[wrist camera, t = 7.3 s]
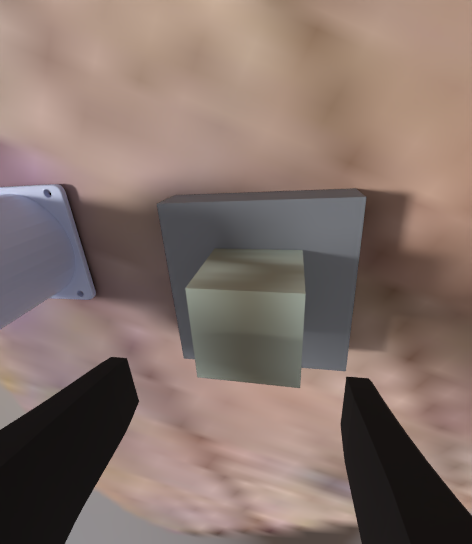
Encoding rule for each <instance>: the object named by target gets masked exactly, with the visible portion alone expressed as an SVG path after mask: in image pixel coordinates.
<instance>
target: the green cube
mask: <svg viewBox="0 0 472 544" xmlns="http://www.w3.org/2000/svg"><path fill="white" fill-rule="evenodd" d="M185 290H186V297H187V304H188V312H189V319H190V326H191V334H192V341H193V348H194V356H195V363H196V370H197V377H201V378H210V379H219V380H229V381H238V382H248V383H257V384H266V385H276V386H285V387H294V388H300V381H301V364H302V347H303V329H304V312H305V295H306V293H305V277H304V262H303V250H272V249H216V248H215V249H214V250H213V251H212V253H211V254H210V256H209V257H208V258H207V260H206V261H205V262H204V264H203V265H202V266H201V268H200V269H199V270H198V272H197V273H196V274H195V276H194V277H193V278H192V280H191V281H190V283H189V284H188V285H187V287H186V288H185Z"/></svg>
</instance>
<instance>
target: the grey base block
mask: <svg viewBox="0 0 472 544" xmlns="http://www.w3.org/2000/svg"><path fill="white" fill-rule="evenodd" d="M365 204H366V196H365V195H363V194H362V193H361V192H360V191H358V190H357V189H356V188H355V189H328V190H301V191H275V192H248V193H221V194H194V195H174V196H172V197H170V198H168V199H166V200H163V201H161V202H159V203H157V208H158V214H159V220H160V225H161V231H162V237H163V242H164V248H165V254H166V259H167V265H168V271H169V276H170V282H171V288H172V294H173V299H174V305H175V311H176V316H177V322H178V328H179V333H180V339H181V345H182V350H183V356H184V358H186V359H195V356H194V348H193V341H192V334H191V326H190V319H189V312H188V304H187V297H186V290H185V288H186V287H187V285H188V284H189V283H190V281H191V280H192V278H193V277H194V276H195V274H196V273H197V272H198V270H199V269H200V268H201V266H202V265H203V264H204V262H205V261H206V260H207V258H208V257H209V256H210V254H211V253H212V251H213V250H214V249H215V248H216V249H272V250H303V262H304V277H305V293H306V295H305V312H304V329H303V347H302V364H301V368H312V369H324V370H337V371H346V365H347V357H348V348H349V340H350V331H351V323H352V314H353V306H354V297H355V289H356V281H357V272H358V264H359V255H360V247H361V238H362V230H363V221H364V213H365Z"/></svg>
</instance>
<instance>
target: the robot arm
mask: <svg viewBox="0 0 472 544" xmlns="http://www.w3.org/2000/svg"><path fill="white" fill-rule="evenodd" d="M48 190H49V191H50V192H51V195H50V194H49V191H48ZM81 291H82V292H83V293H82V292H81ZM95 295H96V291H95V288H94V285H93V281H92V278H91V275H90V271H89V268H88V265H87V261H86V258H85V255H84V251H83V248H82V245H81V242H80V238H79V235H78V232H77V228H76V225H75V222H74V218H73V215H72V212H71V208H70V205H69V202H68V199H67V195H66V192H65V190H64V188H63V187H62V186H61V185H59V184H46V185H27V186H8V187H0V329H2V328H3V327H5V326H6V325H8V324H10V323H11V322H13V321H14V320H16V319H17V318H19V317H20V316H22V315H24V314H25V313H27V312H28V311H30V310H31V309H33V308H34V307H36V306H38V305H39V304H41V303H42V302H44V301H45V300H47V299H48V298H57V299H83V300H90V299H92V298H93V297H95ZM138 403H139V400H138V396H137V393H136V389H135V386H134V382H133V378H132V375H131V371H130V368H129V364H128V360H127V358H117V357H110V358H109V359H107V360H106V361H104V362H102V363H101V364H99V365H98V366H96V367H95V368H93V369H92V370H90V371H89V372H87V373H86V374H84V375H83V376H82V377H80V378H79V379H77V380H76V381H74V382H73V383H71V384H70V385H68V386H67V387H65V388H64V389H62V390H61V391H60V392H58V393H57V394H55V395H54V396H52V397H51V398H49V399H48V400H46V401H45V402H43V403H42V404H40V405H39V406H37V407H35V408H34V409H32V410H31V411H29V412H28V413H26V414H24V415H23V416H21V417H20V418H18V419H17V420H15V421H14V422H12V423H10V424H9V425H7V426H6V427H4V428H3V429H1V430H0V544H65V542H66V540H67V538H68V536H69V534H70V532H71V530H72V528H73V525H74V523H75V521H76V520H77V518H78V516H79V514H80V512H81V510H82V508H83V506H84V505H85V503H86V501H87V499H88V498H89V496H90V494H91V492H92V491H93V489H94V487H95V485H96V484H97V482H98V480H99V478H100V477H101V475H102V473H103V472H104V470H105V468H106V466H107V465H108V463H109V461H110V459H111V458H112V456H113V454H114V452H115V451H116V449H117V447H118V445H119V444H120V442H121V440H122V438H123V436H124V435H125V433H126V431H127V429H128V426H129V424H130V422H131V420H132V417H133V415H134V412H135V410H136V407H137V405H138ZM341 433H342V442H343V451H344V459H345V465H346V470H347V475H348V480H349V485H350V489H351V494H352V499H353V504H354V508H355V513H356V518H357V522H358V527H359V532H360V537H361V541H362V544H472V515H471V514H470V513H469V512H468V511H467V509H466V508H465V507H464V506H463V505H462V503H461V502H460V501H459V500H458V499H457V498H456V496H455V495H454V494H453V493H452V491H451V490H450V489H449V488H448V486H447V485H446V484H445V483H444V482H443V480H442V479H441V478H440V477H439V475H438V474H437V473H436V472H435V470H434V469H433V468H432V466H431V465H430V464H429V463H428V461H427V460H426V459H425V457H424V456H423V455H422V453H421V452H420V451H419V449H418V448H417V447H416V445H415V444H414V443H413V441H412V440H411V439H410V437H409V436H408V435H407V433H406V432H405V430H404V429H403V428H402V426H401V425H400V423H399V422H398V421H397V419H396V418H395V416H394V415H393V413H392V412H391V411H390V409H389V408H388V406H387V405H386V403H385V402H384V400H383V399H382V397H381V396H380V394H379V392H378V391H377V389H376V388H375V386H374V385H373V383H372V382H371V381H370V380H369V378H357V377H346V385H345V393H344V401H343V409H342V418H341Z"/></svg>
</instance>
